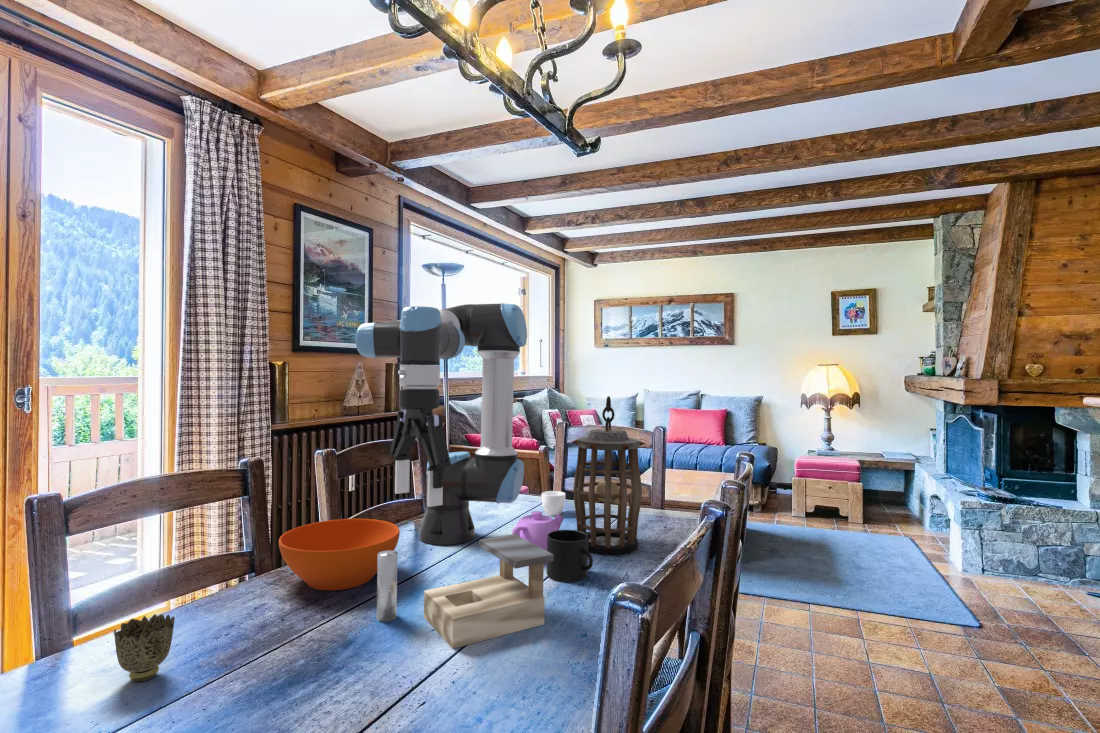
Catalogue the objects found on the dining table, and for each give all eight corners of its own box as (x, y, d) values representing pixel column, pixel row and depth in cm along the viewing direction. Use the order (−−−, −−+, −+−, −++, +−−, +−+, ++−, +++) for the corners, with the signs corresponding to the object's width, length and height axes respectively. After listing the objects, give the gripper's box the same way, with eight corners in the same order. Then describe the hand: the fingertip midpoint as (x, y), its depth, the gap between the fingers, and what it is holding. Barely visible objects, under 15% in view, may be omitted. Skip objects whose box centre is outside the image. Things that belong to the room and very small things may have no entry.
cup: (536, 515, 183) (536, 494, 183) (553, 508, 191) (553, 488, 191) (556, 518, 179) (556, 497, 179) (573, 512, 187) (573, 491, 187)
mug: (578, 589, 122) (579, 547, 122) (538, 575, 130) (538, 535, 130) (605, 577, 129) (605, 537, 129) (565, 564, 137) (565, 527, 137)
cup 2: (134, 665, 89) (135, 613, 89) (183, 663, 89) (184, 612, 89) (100, 692, 81) (101, 636, 81) (155, 690, 82) (155, 634, 82)
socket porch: (422, 616, 107) (423, 548, 108) (513, 595, 118) (514, 534, 118) (453, 650, 95) (454, 573, 95) (552, 623, 105) (553, 554, 105)
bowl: (421, 578, 127) (421, 533, 127) (309, 612, 109) (310, 560, 109) (363, 552, 144) (364, 513, 144) (259, 578, 126) (259, 533, 126)
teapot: (582, 548, 149) (582, 508, 149) (535, 569, 133) (536, 524, 133) (540, 538, 158) (540, 500, 158) (491, 557, 141) (492, 514, 142)
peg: (374, 615, 107) (375, 552, 107) (393, 611, 109) (394, 549, 109) (379, 623, 104) (380, 557, 104) (399, 618, 106) (399, 554, 106)
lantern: (636, 561, 140) (638, 398, 140) (561, 552, 146) (563, 396, 146) (648, 539, 158) (650, 395, 158) (581, 532, 164) (583, 393, 165)
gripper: (374, 386, 116) (372, 490, 116) (433, 389, 97) (431, 514, 97) (408, 386, 121) (406, 486, 121) (471, 389, 102) (469, 508, 101)
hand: (417, 499), depth 109 cm, fingers open, 13 cm apart
